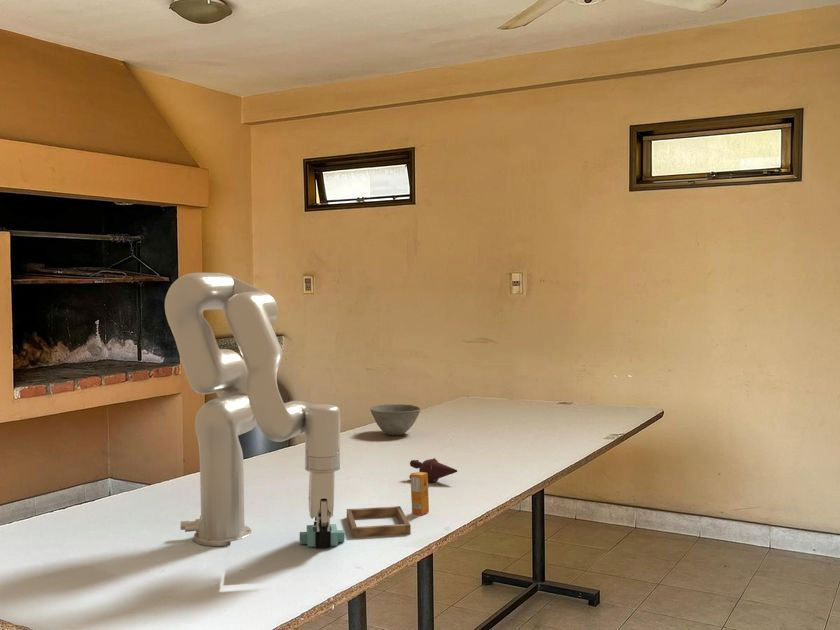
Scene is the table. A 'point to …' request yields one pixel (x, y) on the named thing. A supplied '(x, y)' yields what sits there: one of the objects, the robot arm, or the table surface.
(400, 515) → the tray
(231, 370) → the robot arm
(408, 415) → the bowl
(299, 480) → the table surface
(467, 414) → the table surface
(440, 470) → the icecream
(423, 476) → the supplement box
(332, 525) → the teal tabbed square frame
